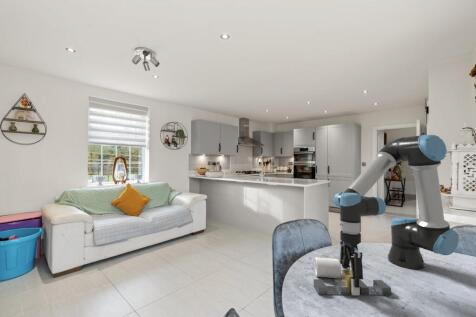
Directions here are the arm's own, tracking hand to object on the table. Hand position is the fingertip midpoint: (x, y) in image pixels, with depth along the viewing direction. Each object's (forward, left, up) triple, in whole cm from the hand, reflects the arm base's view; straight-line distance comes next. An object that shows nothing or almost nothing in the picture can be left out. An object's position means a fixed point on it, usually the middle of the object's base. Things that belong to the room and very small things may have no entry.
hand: (350, 289), depth 91 cm
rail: (0, 0, -1) cm, 1 cm away
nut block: (0, 0, 0) cm, 1 cm away
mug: (+5, -14, -1) cm, 15 cm away
